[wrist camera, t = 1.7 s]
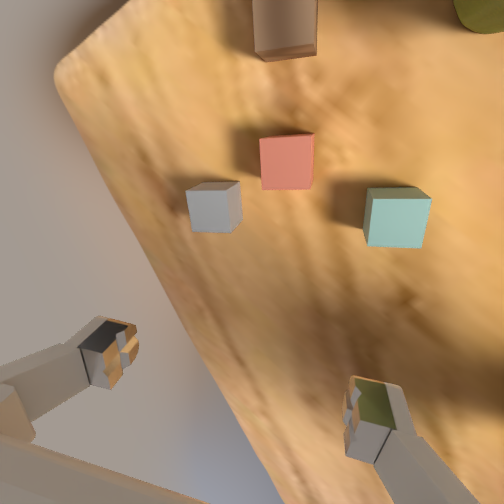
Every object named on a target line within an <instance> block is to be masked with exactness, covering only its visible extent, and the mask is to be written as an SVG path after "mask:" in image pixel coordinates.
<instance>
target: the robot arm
mask: <svg viewBox="0 0 504 504" xmlns="http://www.w3.org/2000/svg"><path fill="white" fill-rule="evenodd" d="M136 333H137V329H136V325H133V324H130V323H126V322H122V321H119V320H115V319H111V318H107V317H103V316H97V317H95V318H94V319H93V320H91V321H90V322H89V323H88V324H87V325H85V326H84V327H83V328H82V329H81V330H80V331H78V332H77V333H76V334H75V335H74V336H73V337H71V338H70V339H69V340H68V341H67V342H65V343H64V344H57V345H54V346H52V347H49V348H47V349H44V350H41V351H39V352H36V353H34V354H31V355H28V356H26V357H23V358H21V359H18V360H15V361H13V362H10V363H8V364H5V365H2V366H0V504H209V503H207V502H204V501H201V500H198V499H194V498H192V497H189V496H186V495H183V494H180V493H177V492H174V491H171V490H168V489H165V488H162V487H159V486H156V485H153V484H150V483H147V482H144V481H141V480H138V479H135V478H133V477H129V476H127V475H124V474H121V473H118V472H115V471H112V470H109V469H106V468H103V467H100V466H97V465H94V464H91V463H88V462H85V461H82V460H79V459H76V458H73V457H70V456H67V455H64V454H61V453H58V452H55V451H52V450H49V449H47V448H44V447H41V446H38V445H35V444H31V442H32V440H33V439H34V438H35V436H36V432H35V430H34V428H33V426H32V424H31V422H32V421H34V420H36V419H37V418H39V417H40V416H42V415H43V414H45V413H47V412H48V411H50V410H52V409H53V408H55V407H57V406H58V405H60V404H61V403H63V402H65V401H66V400H68V399H70V398H71V397H73V396H74V395H76V394H77V393H79V392H81V391H83V390H84V389H86V388H87V387H89V386H90V385H93V386H97V387H101V388H106V389H110V390H111V389H112V388H113V386H114V385H115V384H116V383H117V381H118V380H119V379H120V377H121V376H122V375H123V369H124V368H126V367H127V366H129V365H131V364H132V362H133V361H134V359H135V358H136V355H137V353H138V349H139V342H138V340H137V338H136V337H135V336H134V335H135V334H136ZM342 418H343V422H344V423H345V425H346V426H347V427H346V429H345V432H344V443H345V455H346V456H347V457H350V458H354V459H357V460H360V461H363V462H366V463H370V464H373V465H374V468H375V470H376V472H377V473H378V475H379V477H380V479H381V480H382V482H383V484H384V486H385V488H386V489H387V491H388V493H389V495H390V496H391V498H392V500H393V502H394V503H395V504H480V503H479V502H478V500H477V499H476V498H475V497H474V496H473V495H472V494H471V492H470V491H469V490H468V489H467V488H466V487H465V486H464V484H463V483H462V482H461V481H460V480H459V479H458V478H457V476H456V475H455V474H454V473H453V472H452V471H451V470H450V468H449V467H448V466H447V465H446V464H445V463H444V461H443V460H442V459H441V458H440V457H439V456H438V455H437V453H436V452H435V451H434V450H433V449H432V448H431V447H430V445H429V444H428V443H427V442H426V441H425V440H424V439H423V437H420V436H417V434H416V431H415V428H414V424H413V421H412V418H411V415H410V412H409V409H408V406H407V403H406V399H405V396H404V393H403V390H402V388H401V387H400V386H399V385H395V384H390V383H386V382H382V381H377V380H373V379H368V378H364V377H359V376H355V375H352V376H351V377H350V380H349V390H347V391H345V394H344V398H343V404H342Z"/></svg>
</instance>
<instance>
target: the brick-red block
mask: <svg viewBox="0 0 504 504" xmlns="http://www.w3.org/2000/svg"><path fill="white" fill-rule="evenodd" d="M259 143H260V162H261V181H262V190H301V189H310V188H311V185H312V182H313V165H314V133H312V134H296V135H280V136H268V137H264V138H261V139H259Z"/></svg>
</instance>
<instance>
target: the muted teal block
mask: <svg viewBox="0 0 504 504" xmlns="http://www.w3.org/2000/svg"><path fill="white" fill-rule="evenodd" d="M431 201H432V199H431V198H430V197H429V196H428V195H426V194H425V193H424V192H423V191H421V190H420V189H419V188H418V187H397V188H367V196H366V205H365V214H364V222H363V232H364V236H365V239H366V243H367V246H376V247H400V248H421V247H422V243H423V238H424V233H425V229H426V224H427V220H428V215H429V211H430V206H431Z"/></svg>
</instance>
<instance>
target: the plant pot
mask: <svg viewBox="0 0 504 504" xmlns="http://www.w3.org/2000/svg"><path fill="white" fill-rule="evenodd" d="M453 3H454V7H455V9H456V12H457V15H458V17H459V19H460V21H461V23H462V24H463V25H464V26H465V27H467V28H469V29H470V30H472V31H474V32H477V33H481V34H492V33H499V32H504V0H453Z"/></svg>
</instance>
